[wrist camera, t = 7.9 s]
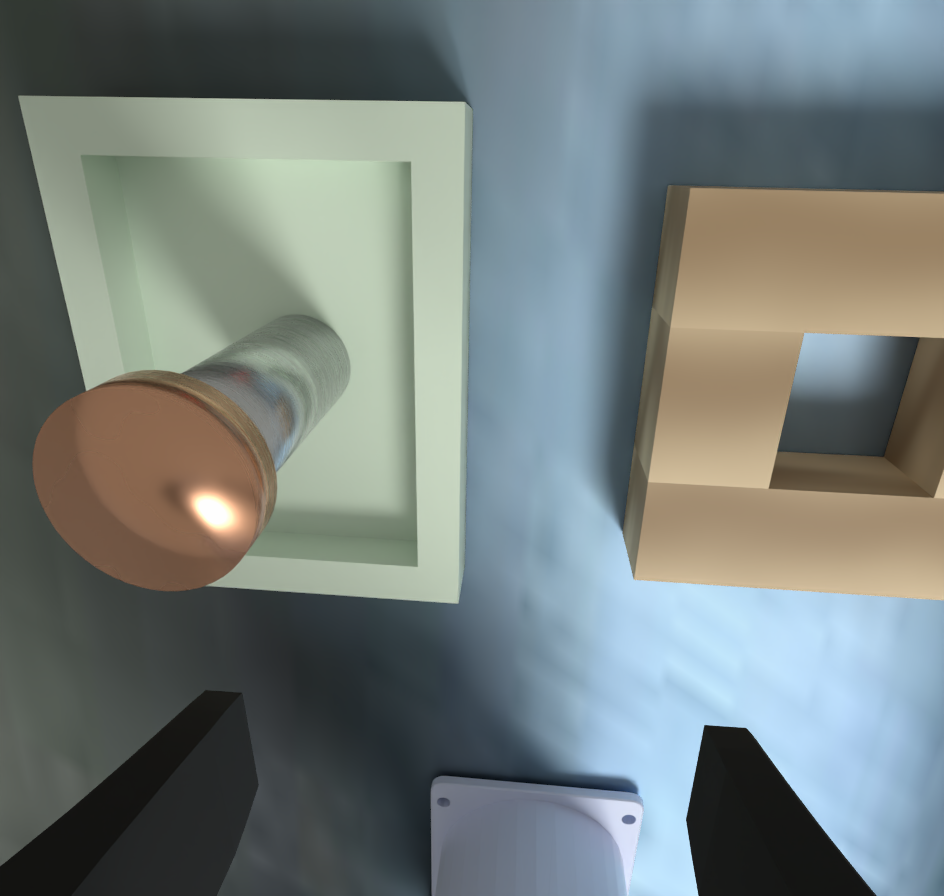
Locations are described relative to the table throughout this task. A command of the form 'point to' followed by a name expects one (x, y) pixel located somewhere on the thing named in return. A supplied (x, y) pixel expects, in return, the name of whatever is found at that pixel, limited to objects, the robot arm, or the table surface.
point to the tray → (288, 299)
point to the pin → (186, 454)
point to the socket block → (787, 394)
